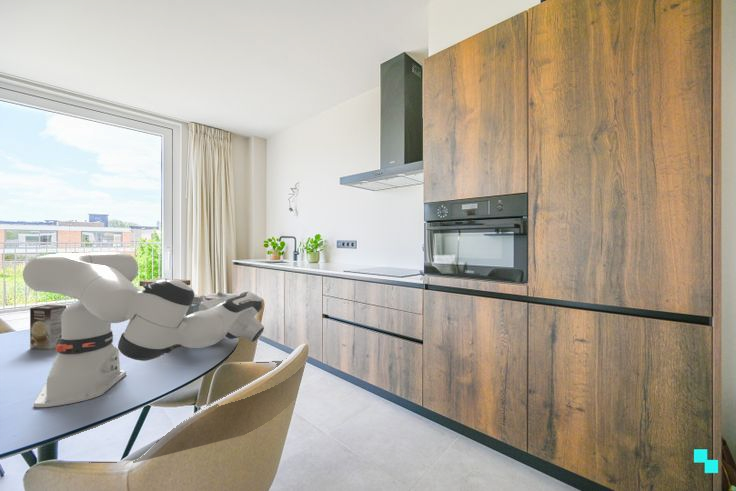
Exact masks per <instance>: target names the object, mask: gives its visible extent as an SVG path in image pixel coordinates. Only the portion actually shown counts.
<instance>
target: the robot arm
mask: <svg viewBox="0 0 736 491" xmlns="http://www.w3.org/2000/svg"><path fill="white" fill-rule="evenodd" d="M138 274H139V264H138V262H137V259H136V258H135V257H133V256H132V255H131V254H127V253H122V252H115V251H113V252H112V251H111V252H75V253H74V252H72V253H70V252H68V253H63V252H62V253H54V254H52V253H51V254H47V255H46V254H45V255H40V256H35V257H33V258H31V259H30V260H29V261H28V262H27V263H26V264H25V266H24V268H23V271H22V278H23V281H24V283H25V285H26V286H28V287H29V288H30V289H31V290H33V291H35V292H41V293H53V294H58V295H61V296H65V297H66V296H67V297H70V298H73V299H76V300H78V301H76V302H73V303H71V304H70V305H68V306H66V309H65V310H64V311H63V313H62V316H61V322H62V337H61V338H60V341H59V345H57V346H56V348H55V352H56V353H58V354H57V355H55V359H54V361H53V363H52V366H51V368H50V371H49V374H48V375H47V379H46V382H45V384H44V385H43V387H42V389H41V390H40V392H39V393H38V395H37V397H36V398H35V400H34V402H33V407H34V408H50V407H57V406H65V405H70V404H74V403H79V402H84V401H87V400H91V399H95V398H98V397H100V396H102V395H104V393H106V392H107V391H109V389H111V388H113V386H114V385H115V384H117V383H118V382H119V381H120V380H121V379H123V377H125V376H126V375H127V371H126V370H125V369H121V366H120V365H121V364H120V353H121V354H122V355H123V356H125V357H126V358H128V359H129V358H130V359H132V360H135V361H139V362H140V361H142V362H146V361H151V360H153V359H157V358H160V357H161V356H164V354H170V353H171V352H172V351H173V349H174V348H172V346H173V345H175V344H180V345H181V346H182V347H184V348H190V349H202V348H207V347H210V346H213V345H216V344H217V343H219V342H220V341H221V340H222V339H224V338H225V337H226V338H227V339H230V340H233V339H238V338H243V339H246V341H249V342H251V343H252V342H253V343H254V342H255V341H257V339H258V338H260V336H261V335H262V334H263V332H264V330H265V326H264V325H263V324H262V323H261V322H260V320H259V319H258V318H257V317H256V316H257V314H258V313H259V312H260V311H261V310H262V309H263V301H262V299H261V297H259V296H258V295H257V294H256V293H253V292H251V291H244V292H241V293H240V294H239V295H237V294H231V295H228V294H226V293H224V292H222V291H219V292H217V294H216V297H224V298H222V299H217V300H216V299H213V300H209V301H208V300H206V297H205V296H206V295H205V294H204V295H203V296H200V298H199V299H200V300H201V301H202V302H201V303H200V305H199V308H198V310H199V311H198V312H194V313H192V314H189V315H187V316H185V315H186V313H187V311H188V308H189V306H190V305H192V302H193V299H194V295H195V292H194V290H193V288H191V287H190V285H187V284H185V283H184V282H181V281H179V280H173V279H174V278H164V279H162V278H161V279H162V280H158V281H155V282H153V283H151V284H149V283H147V284H145V285H143V286H142V288H144V289H143V290H142V289H139V288H137V287H136V286H135V285H134V284H133V283H132V282H134V280H135V279H136V278H137V276H138ZM128 320H129V321H128ZM125 321H128V324H127V326H126V327H125V329H124V332H123V333H121V335H120V336H119V337H120V338H119V340H118V342H117V343H118V344H117V347H116V346H114V344H113V341H114V334H113V330H111V329H112V328H111V325H112V324H118V323H123V322H125Z"/></svg>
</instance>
